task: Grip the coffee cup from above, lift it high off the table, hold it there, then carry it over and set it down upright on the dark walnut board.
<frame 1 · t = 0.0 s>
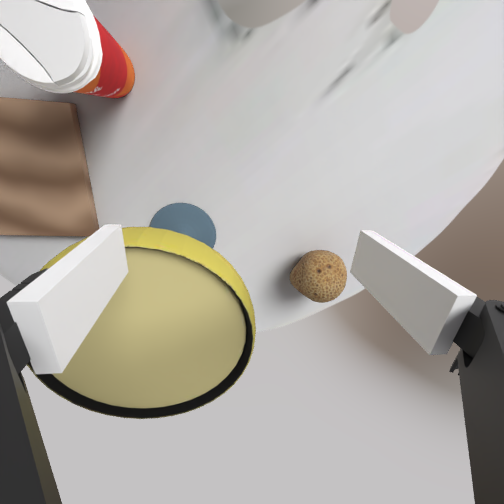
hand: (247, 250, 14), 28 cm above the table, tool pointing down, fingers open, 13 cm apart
walnut board: (35, 172, 36), on the table
cocktail glass: (183, 234, 43), on the table
coffee cup: (111, 71, 33), on the table
natural sponge: (310, 261, 48), on the table
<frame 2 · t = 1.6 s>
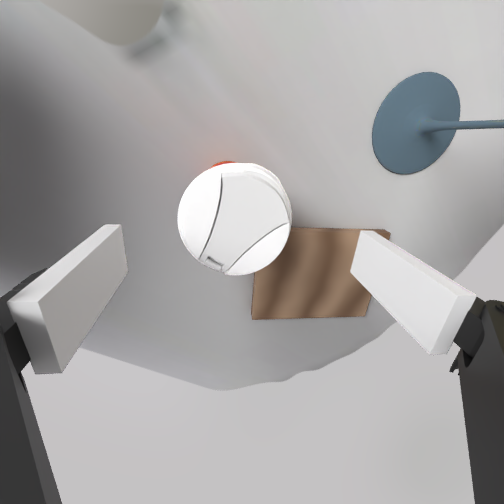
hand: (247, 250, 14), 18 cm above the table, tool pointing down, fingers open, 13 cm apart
walnut board: (314, 273, 37), on the table
cocktail glass: (413, 127, 31), on the table
coffee cup: (228, 186, 31), on the table
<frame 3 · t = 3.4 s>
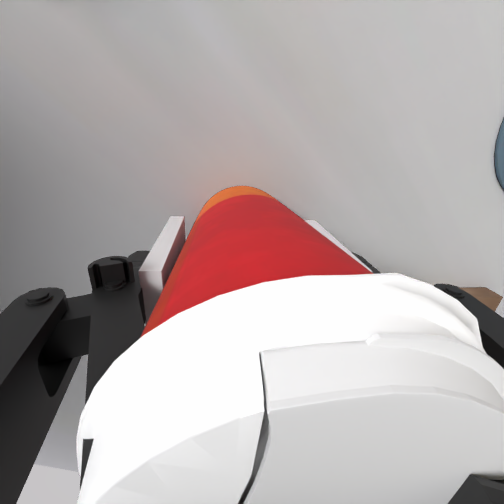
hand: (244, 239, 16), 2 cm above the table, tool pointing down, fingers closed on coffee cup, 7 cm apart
walnut board: (371, 350, 24), on the table
coffee cup: (241, 227, 18), on the table, touching gripper
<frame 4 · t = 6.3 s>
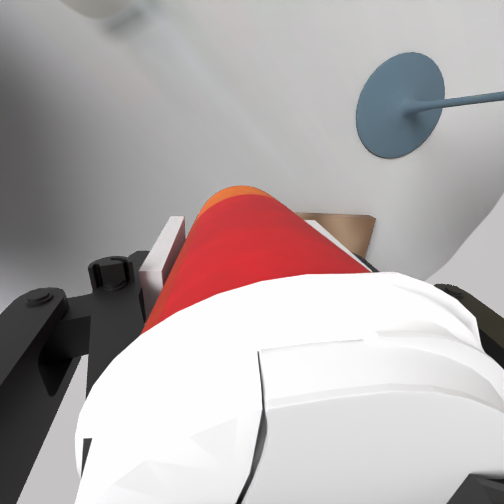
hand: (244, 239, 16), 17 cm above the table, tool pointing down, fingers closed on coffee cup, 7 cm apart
walnut board: (300, 259, 37), on the table
cocktail glass: (398, 109, 30), on the table
coffee cup: (241, 226, 18), point 15 cm above the table, touching gripper
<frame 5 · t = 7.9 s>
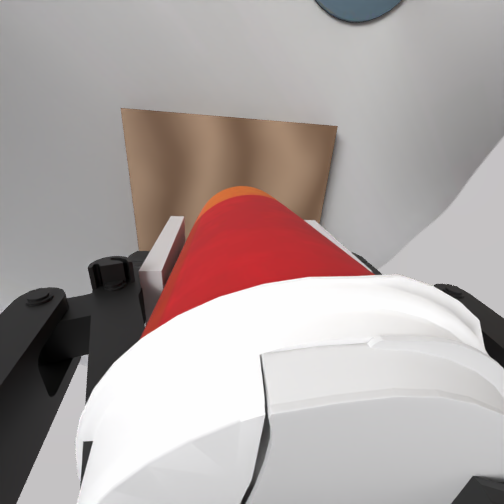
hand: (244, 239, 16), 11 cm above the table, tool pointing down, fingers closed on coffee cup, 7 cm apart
walnut board: (231, 197, 25), on the table
coffee cup: (241, 227, 18), point 9 cm above the table, touching gripper
when the fingers open (5 cm above the table, at t = 9.3 s): coffee cup stays where it is, resting on walnut board.
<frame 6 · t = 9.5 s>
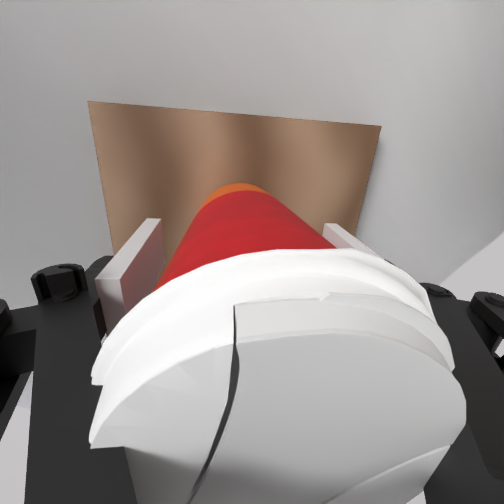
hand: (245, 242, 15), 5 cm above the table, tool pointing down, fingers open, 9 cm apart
walnut board: (239, 217, 20), on the table
coffee cup: (240, 222, 19), point 1 cm above the table, touching walnut board
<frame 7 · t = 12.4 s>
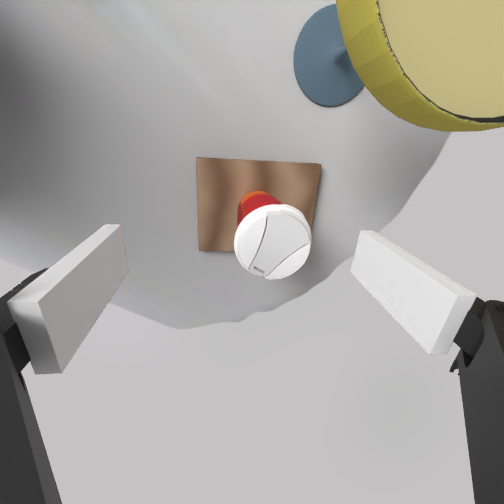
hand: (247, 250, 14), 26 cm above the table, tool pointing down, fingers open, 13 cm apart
walnut board: (256, 207, 40), on the table
cocktail glass: (333, 59, 33), on the table
coffee cup: (257, 209, 39), point 1 cm above the table, touching walnut board
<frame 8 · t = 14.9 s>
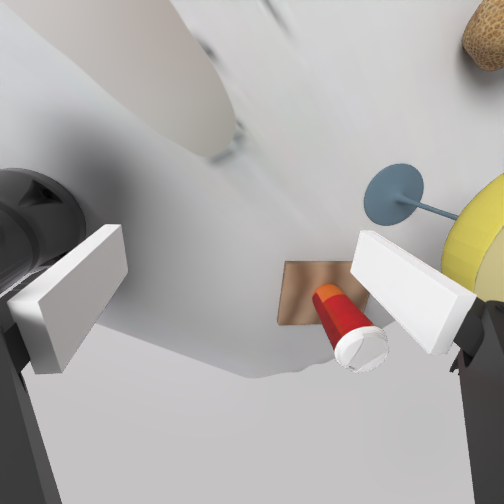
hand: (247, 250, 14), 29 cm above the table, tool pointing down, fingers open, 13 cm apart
walnut board: (323, 292, 52), on the table
cocktail glass: (392, 195, 45), on the table
coffee cup: (326, 295, 51), point 1 cm above the table, touching walnut board
natural sponge: (471, 35, 36), on the table
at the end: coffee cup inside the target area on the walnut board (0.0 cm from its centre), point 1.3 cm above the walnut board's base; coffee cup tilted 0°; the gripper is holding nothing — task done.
